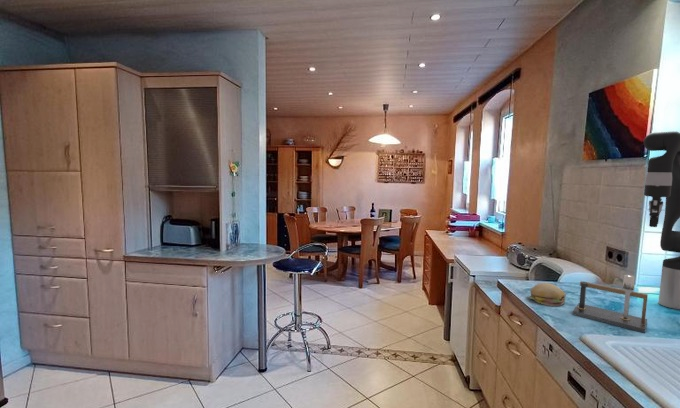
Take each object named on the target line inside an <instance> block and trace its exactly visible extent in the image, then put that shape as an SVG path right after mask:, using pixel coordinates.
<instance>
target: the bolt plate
mask: <svg viewBox="0 0 680 408" xmlns="http://www.w3.org/2000/svg"><path fill="white" fill-rule="evenodd" d="M579 286H580V294H579V303H577V305H576V306H575V307H574V308H573V310H572V315H574V316H578V317H581V318H585V319H589V320H593V321H598V322H601V323H604V324H608V325H612V326H616V327H621V328H625V329H628V330H632V331H634V332H635V331H636V332H639V333H643V334H645V333H646V329H647V328H646V327H647V323H648V319H647V318H646V313H647V304H648V296H649V293H643V292H638V291H634V290H632V292H631V293H630V297H633V298H639V299H643V301H642V308H641V309H642V311H641V317H640V316H635V315H630V314H628V318H624V317H623V313H622V312H618V311H613V310H609V309H605V308H601V307H598V306H597V307H596V306H593V305H588V304H586V303H585V302H586V296H587V295H586V294H587V288H589V289H594V290H595V289H596V290H598V291H604V292H610V293H614V294H619V295H624V296H625V292H624V291H625V289H624V288H618V287H617V288H616V287H612V286H609V285H604V284H603V285H602V284H597V283H593V282H587V281H582V280H580V282H579Z"/></svg>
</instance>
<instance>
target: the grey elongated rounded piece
mask: <svg viewBox="0 0 680 408" xmlns="http://www.w3.org/2000/svg"><path fill="white" fill-rule="evenodd" d="M635 282H636V276H634V275H631V274H624V275H623V285H622V289H623V290H625V291H624V292H625V295H624V303H623V311H622V312H623V317H624V318H628V315H629V310H630V300H631V296H630V293H631V292H632V291H634V290H635Z"/></svg>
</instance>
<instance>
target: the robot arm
mask: <svg viewBox="0 0 680 408" xmlns="http://www.w3.org/2000/svg"><path fill="white" fill-rule="evenodd" d="M643 145H644V148H645V149H646V150H647V151H650V152H653V151H655V152H656V151H658V152H659V151H660V152H661V151H663V152H664V151H665V153H663V154H662V155H658V156H653V157H650V158H648V161H647V171H646V177H645V180H644V181H645V182H644V191H643V192H644V193H643V194H644V197H651V198H652V199H651V200H649V202H648V206H649V208H648V212H649V214H648V215H649V223H648V224H649V225H648V226H649V228H657V227H658V224H659V222H660V221H659V220H660V219H659V218H660V215H661V213H662V209H663V206H664V204H665V208H664V217H663V223H662V228H661V229H662V230H661V235H660V242H659V243H660V245H659V247H660V248H661V250H662V251H664V252H672V253H680V230H673V228H674V226H675V224H676V223H677V221H678V220H679V219H680V131H674V130H673V131H659V132H658V131H656V132H655V131H654V132H650V133H649V134H648V135H646V136H645V137H644V139H643ZM662 198H665V203H664V201H662ZM657 303H658V304H659V305H661V306H663V307H666V308H669V309H674V310H680V256H676V257H671V258H670V257H668V258H665V259H663V260H662V267H661V275H660V284H659V294H658V302H657Z"/></svg>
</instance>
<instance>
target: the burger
mask: <svg viewBox="0 0 680 408" xmlns="http://www.w3.org/2000/svg"><path fill="white" fill-rule="evenodd" d="M528 299H530V300H533V301H535V302H536V303H538V304H540V303H541V305H543V304H544V305H545V306H548V305H549V307H550V306H551V307H560V306H562V305H564V304H565V301H566V292H564V290H563V289H561V288H560V287H559V286H557V285H555V284H552V283H548V282H540V283H537V284H535V285H534V286H533V287H531V288H530V296H529V297H528Z"/></svg>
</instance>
